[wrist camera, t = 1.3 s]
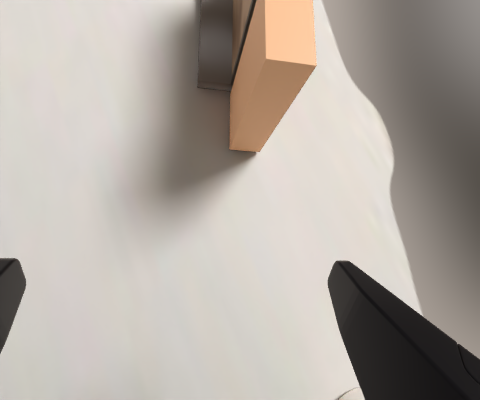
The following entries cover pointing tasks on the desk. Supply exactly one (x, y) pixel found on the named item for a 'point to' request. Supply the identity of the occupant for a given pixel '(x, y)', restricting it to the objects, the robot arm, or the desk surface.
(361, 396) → the bath foam
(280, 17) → the block
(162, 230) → the desk surface
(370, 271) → the desk surface
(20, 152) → the desk surface
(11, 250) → the desk surface
